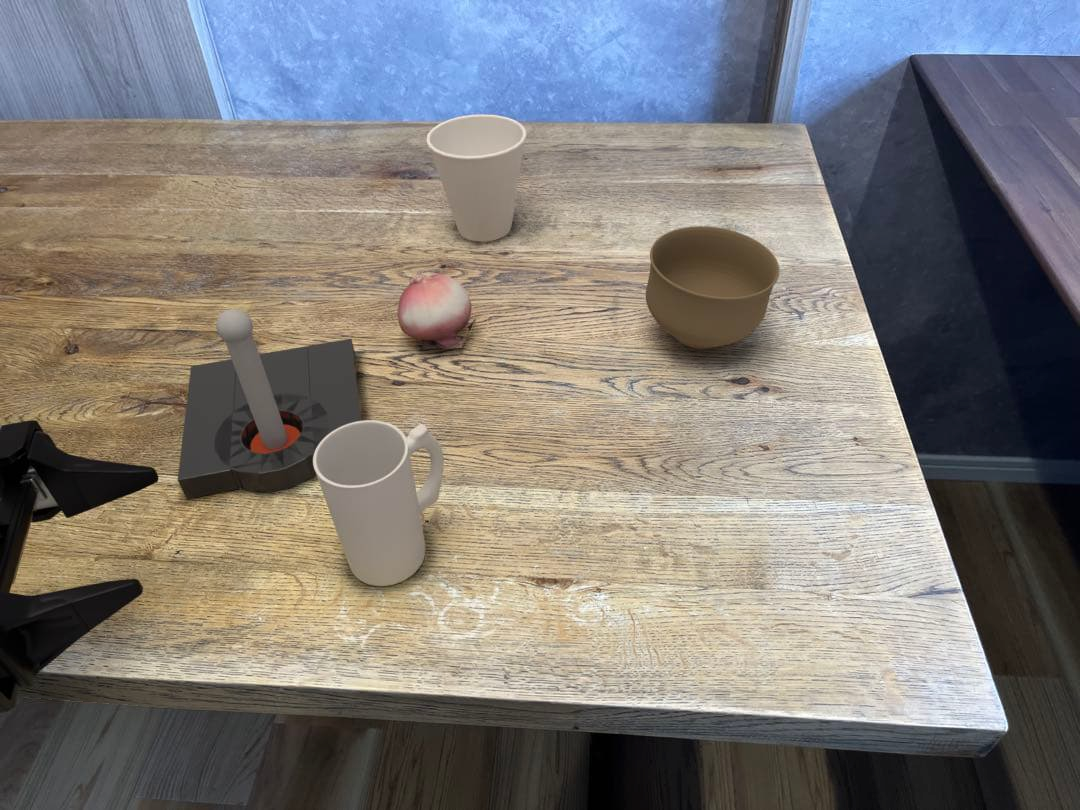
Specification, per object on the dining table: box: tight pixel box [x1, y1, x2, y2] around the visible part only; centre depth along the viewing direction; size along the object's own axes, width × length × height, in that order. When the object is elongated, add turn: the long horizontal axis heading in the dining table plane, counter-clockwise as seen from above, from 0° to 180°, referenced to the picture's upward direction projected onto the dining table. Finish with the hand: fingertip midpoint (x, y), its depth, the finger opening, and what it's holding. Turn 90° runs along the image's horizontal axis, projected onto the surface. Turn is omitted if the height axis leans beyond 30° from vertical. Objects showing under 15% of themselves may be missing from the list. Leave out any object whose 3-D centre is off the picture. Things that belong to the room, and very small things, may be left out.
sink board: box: [177, 338, 365, 500], centre depth 77 cm, size 16×17×2 cm
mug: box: [313, 419, 445, 587], centre depth 63 cm, size 10×7×12 cm, turn 133°
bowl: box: [645, 225, 781, 350], centre depth 83 cm, size 13×13×10 cm
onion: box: [397, 272, 477, 349], centre depth 85 cm, size 8×8×7 cm
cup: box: [425, 113, 527, 243], centre depth 100 cm, size 12×12×12 cm
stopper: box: [215, 308, 301, 453], centre depth 70 cm, size 5×5×16 cm
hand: (149, 526), depth 51 cm, fingers open, 9 cm apart
